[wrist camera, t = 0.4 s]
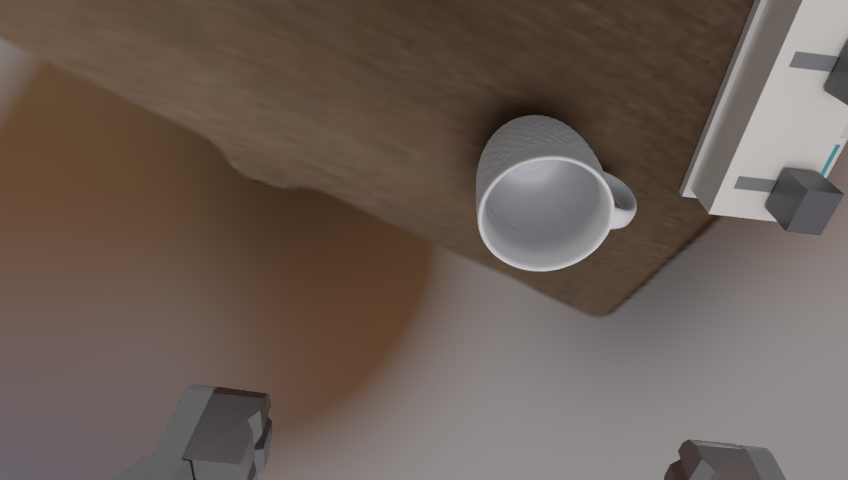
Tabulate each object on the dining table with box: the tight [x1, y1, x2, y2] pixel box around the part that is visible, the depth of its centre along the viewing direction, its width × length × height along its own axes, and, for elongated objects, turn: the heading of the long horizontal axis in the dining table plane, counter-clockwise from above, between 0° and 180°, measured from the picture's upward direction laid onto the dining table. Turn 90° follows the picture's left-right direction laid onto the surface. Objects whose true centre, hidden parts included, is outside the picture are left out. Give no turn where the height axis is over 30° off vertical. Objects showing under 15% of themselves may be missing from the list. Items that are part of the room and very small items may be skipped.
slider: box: [765, 168, 844, 235], centre depth 50 cm, size 4×3×4 cm
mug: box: [476, 115, 637, 271], centre depth 52 cm, size 15×11×13 cm
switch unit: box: [679, 0, 848, 222], centre depth 48 cm, size 31×13×6 cm, turn 174°
